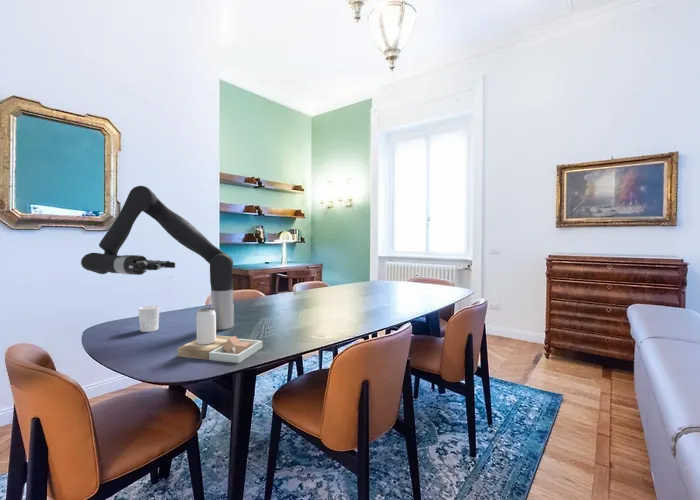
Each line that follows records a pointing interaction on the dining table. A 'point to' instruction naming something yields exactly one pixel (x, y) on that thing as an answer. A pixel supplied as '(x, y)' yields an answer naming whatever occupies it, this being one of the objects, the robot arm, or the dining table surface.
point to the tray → (222, 355)
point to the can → (206, 326)
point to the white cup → (148, 318)
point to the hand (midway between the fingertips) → (166, 266)
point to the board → (201, 348)
